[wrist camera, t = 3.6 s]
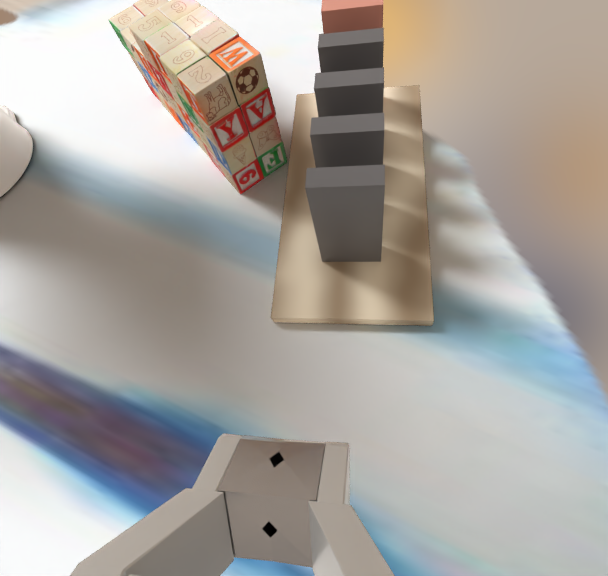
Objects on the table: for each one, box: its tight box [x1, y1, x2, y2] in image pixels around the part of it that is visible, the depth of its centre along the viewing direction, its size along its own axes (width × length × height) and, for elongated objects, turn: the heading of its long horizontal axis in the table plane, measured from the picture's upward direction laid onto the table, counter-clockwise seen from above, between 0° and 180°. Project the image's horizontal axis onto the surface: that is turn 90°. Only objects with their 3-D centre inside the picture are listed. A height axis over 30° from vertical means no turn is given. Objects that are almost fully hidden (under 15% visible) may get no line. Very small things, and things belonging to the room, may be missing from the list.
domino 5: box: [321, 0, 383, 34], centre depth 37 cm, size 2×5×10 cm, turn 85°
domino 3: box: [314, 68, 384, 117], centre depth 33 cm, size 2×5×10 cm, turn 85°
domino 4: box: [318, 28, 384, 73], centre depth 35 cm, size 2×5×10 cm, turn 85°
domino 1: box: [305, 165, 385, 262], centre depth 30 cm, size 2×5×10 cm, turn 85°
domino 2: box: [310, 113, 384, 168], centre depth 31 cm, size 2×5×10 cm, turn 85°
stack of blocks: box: [109, 0, 287, 194], centre depth 40 cm, size 21×6×12 cm, turn 36°
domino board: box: [271, 85, 434, 326], centre depth 37 cm, size 13×26×1 cm, turn 175°
